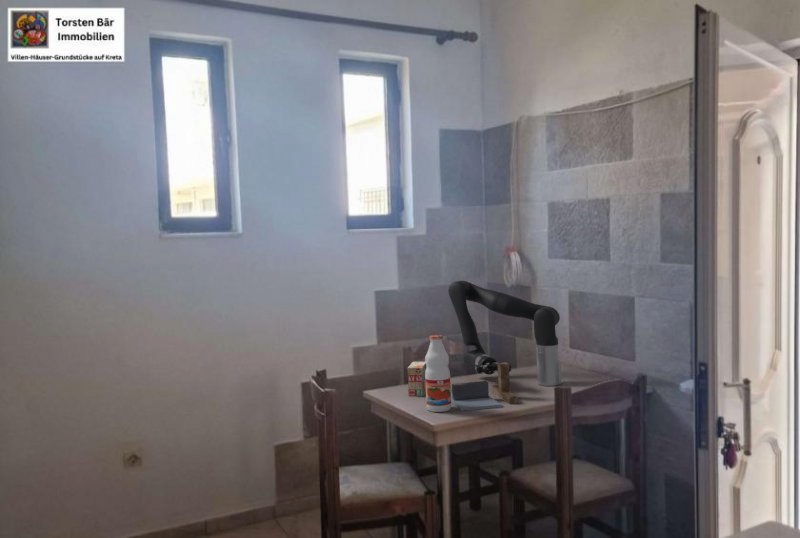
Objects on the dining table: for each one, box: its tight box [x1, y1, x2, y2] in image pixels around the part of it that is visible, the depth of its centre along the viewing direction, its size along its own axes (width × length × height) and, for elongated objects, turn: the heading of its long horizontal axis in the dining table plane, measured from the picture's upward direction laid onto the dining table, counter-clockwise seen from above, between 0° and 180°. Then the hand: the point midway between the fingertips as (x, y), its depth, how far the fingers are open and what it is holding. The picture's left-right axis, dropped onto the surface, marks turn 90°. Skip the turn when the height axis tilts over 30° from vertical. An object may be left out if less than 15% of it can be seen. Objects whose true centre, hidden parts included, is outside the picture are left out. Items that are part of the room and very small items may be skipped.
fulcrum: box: [451, 380, 502, 412], centre depth 246 cm, size 16×26×7 cm, turn 11°
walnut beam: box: [491, 361, 518, 405], centre depth 248 cm, size 4×20×14 cm, turn 11°
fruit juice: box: [424, 334, 452, 413], centre depth 235 cm, size 9×9×28 cm
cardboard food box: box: [407, 361, 427, 397], centre depth 267 cm, size 21×6×12 cm, turn 169°
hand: (498, 371), depth 253 cm, fingers open, 8 cm apart
